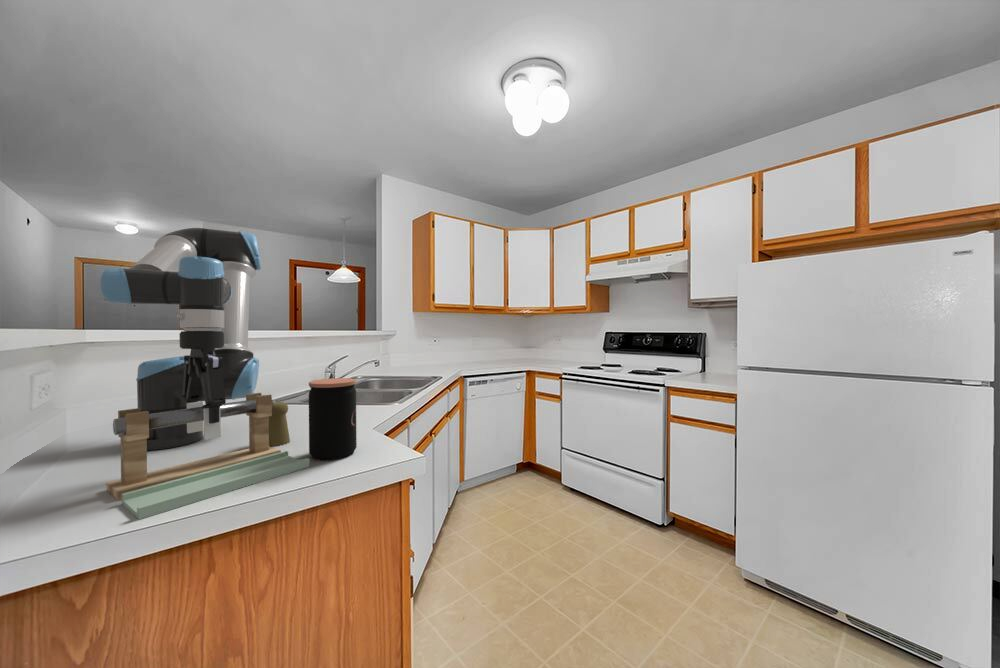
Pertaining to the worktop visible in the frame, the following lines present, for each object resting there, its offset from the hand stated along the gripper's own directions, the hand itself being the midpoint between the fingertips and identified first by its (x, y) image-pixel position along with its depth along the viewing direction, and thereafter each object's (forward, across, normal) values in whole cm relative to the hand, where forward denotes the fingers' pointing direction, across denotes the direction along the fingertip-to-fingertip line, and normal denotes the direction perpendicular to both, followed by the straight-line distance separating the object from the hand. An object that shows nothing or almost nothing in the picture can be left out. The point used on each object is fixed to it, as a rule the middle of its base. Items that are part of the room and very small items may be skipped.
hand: (203, 434), depth 81 cm
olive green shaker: (+8, -8, +19) cm, 22 cm away
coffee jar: (+8, +13, +22) cm, 27 cm away
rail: (-5, 0, 0) cm, 5 cm away
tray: (+8, +12, 0) cm, 14 cm away
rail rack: (+8, 0, 0) cm, 8 cm away
